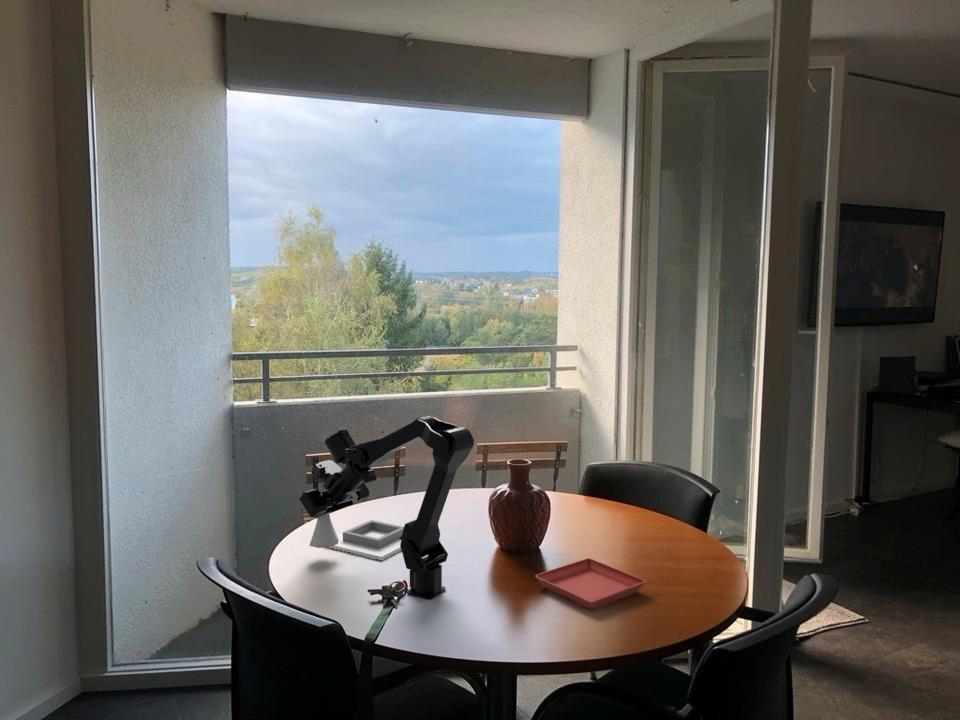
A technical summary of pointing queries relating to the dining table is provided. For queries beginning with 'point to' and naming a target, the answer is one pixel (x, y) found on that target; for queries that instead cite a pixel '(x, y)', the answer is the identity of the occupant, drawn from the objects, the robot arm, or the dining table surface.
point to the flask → (324, 533)
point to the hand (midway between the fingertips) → (319, 515)
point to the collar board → (371, 540)
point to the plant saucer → (590, 583)
